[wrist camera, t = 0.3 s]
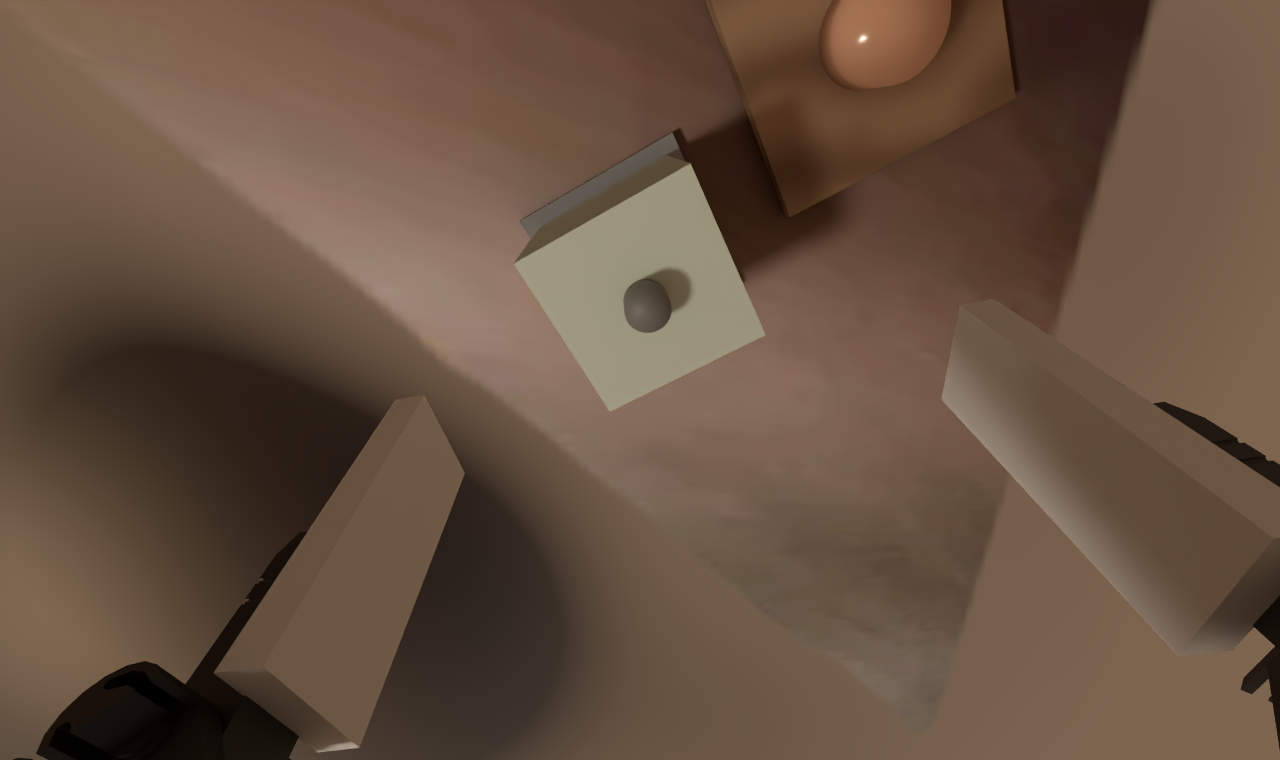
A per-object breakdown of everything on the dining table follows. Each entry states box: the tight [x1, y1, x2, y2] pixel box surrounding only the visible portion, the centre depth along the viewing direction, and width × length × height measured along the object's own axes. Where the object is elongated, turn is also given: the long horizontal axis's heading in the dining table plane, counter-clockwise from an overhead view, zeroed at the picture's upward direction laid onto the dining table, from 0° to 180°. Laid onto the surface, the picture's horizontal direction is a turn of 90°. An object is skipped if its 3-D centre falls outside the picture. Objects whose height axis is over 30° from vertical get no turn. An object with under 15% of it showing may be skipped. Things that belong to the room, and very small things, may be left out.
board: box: [705, 0, 1016, 217], centre depth 31 cm, size 16×16×1 cm
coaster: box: [520, 132, 685, 239], centre depth 36 cm, size 12×12×1 cm
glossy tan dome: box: [819, 0, 951, 91], centre depth 29 cm, size 6×6×4 cm
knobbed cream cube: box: [514, 155, 765, 411], centre depth 31 cm, size 10×10×13 cm
